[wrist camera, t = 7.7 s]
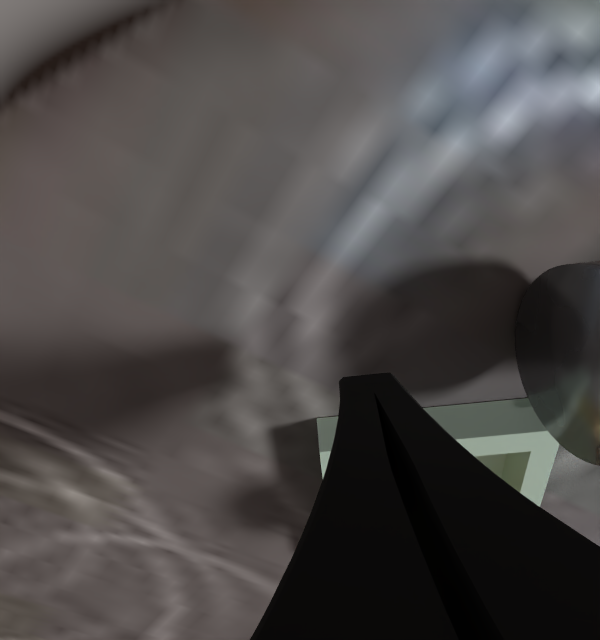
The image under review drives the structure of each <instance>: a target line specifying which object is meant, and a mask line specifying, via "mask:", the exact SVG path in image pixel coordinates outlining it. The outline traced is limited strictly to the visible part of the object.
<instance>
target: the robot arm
mask: <svg viewBox="0 0 600 640" xmlns="http://www.w3.org/2000/svg"><path fill="white" fill-rule="evenodd" d="M339 388H340V407H339V416H338V421H337V427H336V432H335V437H334V442H333V445H332V449H331V453H330V457H329V460H328V464H327V468H326V471H325V474H324V477H323V481H322V484H321V487H320V490H319V492H318V495H317V498H316V501H315V504H314V506H313V509H312V512H311V514H310V516H309V519H308V521H307V524H306V526H305V529H304V531H303V534H302V536H301V539H300V541H299V543H298V545H297V548H296V550H295V552H294V554H293V557H292V559H291V561H290V563H289V565H288V567H287V569H286V571H285V573H284V575H283V577H282V579H281V581H280V583H279V585H278V587H277V589H276V592H275V594H274V596H273V598H272V600H271V602H270V604H269V606H268V608H267V610H266V611H265V613H264V615H263V617H262V619H261V621H260V623H259V625H258V626H257V628H256V630H255V632H254V633H253V635H252V637H251V639H250V640H600V546H598V545H596V544H595V543H593V542H592V541H590V540H589V539H587V538H586V537H584V536H583V535H581V534H580V533H578V532H577V531H575V530H574V529H572V528H571V527H569V526H568V525H566V524H564V523H563V522H561V521H560V520H558V519H557V518H555V517H554V516H552V515H551V514H549V513H548V512H546V511H545V510H543V509H542V508H540V507H539V506H538V505H536V504H535V503H534V502H532V501H531V500H529V499H528V498H527V497H525V496H524V495H522V494H521V493H520V492H518V491H517V490H516V489H514V488H513V487H512V486H511V485H509V484H508V483H507V482H505V481H504V480H503V479H501V478H500V477H499V476H498V475H496V474H495V473H494V472H493V471H491V470H490V469H489V468H488V467H486V466H485V465H484V464H483V463H482V462H480V461H479V460H478V459H477V458H476V457H474V456H473V455H472V454H471V453H470V452H469V451H468V450H466V449H465V448H464V447H463V446H462V445H461V444H460V443H458V442H457V441H456V440H455V439H454V438H453V437H452V436H451V435H450V434H449V433H448V432H447V431H446V430H445V429H443V428H442V427H441V426H440V425H439V424H438V423H437V422H436V421H435V420H434V419H433V418H432V417H431V416H430V415H429V414H428V413H427V412H426V411H425V410H424V409H423V408H422V407H421V406H420V405H419V404H418V403H417V401H416V400H415V399H414V398H413V397H412V396H411V395H410V394H409V393H408V392H407V391H406V390H405V388H404V387H403V386H402V385H401V384H400V383H399V382H398V380H397V379H396V378H395V377H394V376H393V375H392V374H391V373H381V374H371V375H361V376H351V377H343V378H342V379H341V380H340V381H339Z"/></svg>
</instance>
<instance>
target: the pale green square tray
mask: <svg viewBox="0 0 600 640" xmlns="http://www.w3.org/2000/svg"><path fill="white" fill-rule="evenodd" d="M423 409H424V410H425V411H426V412H427V413H428V414H429V415H430V416H431V417H432V418H433V419H434V420H435V421H436V422H437V423H438V424H439V425H440V426H441V427H442V428H443V429H445V430H446V431H447V432H448V433H449V434H450V435H451V436H452V437H453V438H454V439H455V440H456V441H457V442H458V443H460V444H461V445H462V446H463V447H464V448H465V449H466V450H468V451H469V452H470V453H471V454H472V455H473V456H474V457H476V458H477V459H478V460H479V461H480V462H482V463H483V464H484V465H485V466H486V467H488V468H489V469H490V470H491V471H493V472H494V473H495V474H496V475H498V476H499V477H500V478H501V479H503V480H504V481H505V482H507V483H508V484H509V485H511V486H512V487H513V488H514V489H516V490H517V491H518V492H520V493H521V494H522V495H524V496H525V497H527V498H528V499H529V500H531V501H532V502H534V503H535V504H536V505H538V506H539V507H540V504H541V501H542V498H543V495H544V492H545V488H546V485H547V482H548V479H549V476H550V472H551V469H552V466H553V463H554V460H555V456H556V453H557V450H558V447H559V443H558V442H557V441H556V440H555V439H554V438H553V436H552V435H551V434H550V433H549V432H548V431H547V429H546V428H545V427H544V425H543V424H542V422H541V421H540V419H539V418H538V416H537V415H536V413H535V411H534V409H533V407H532V406H531V403H530V401H529V399H528V398H522V399H512V400H502V401H491V402H481V403H470V404H460V405H450V406H439V407H429V408H423ZM337 421H338V416H335V417H324V418H317V428H318V440H319V452H320V460H321V469H322V478H323V477H324V474H325V471H326V468H327V464H328V460H329V457H330V453H331V449H332V445H333V442H334V437H335V432H336V427H337Z"/></svg>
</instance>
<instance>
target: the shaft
mask: <svg viewBox="0 0 600 640" xmlns="http://www.w3.org/2000/svg"><path fill="white" fill-rule="evenodd" d="M515 348H516V358H517V364H518V369H519V373H520V377H521V380H522V384H523V387H524V389H525V392H526V395H527V397H528V399H529V401H530V403H531V406H532V407H533V409H534V411H535V413H536V415H537V416H538V418H539V419H540V421H541V422H542V424H543V425H544V427H545V428H546V429H547V431H548V432H549V433H550V434H551V435H552V436H553V438H554V439H555V440H556V441H557V442H558V443H559V444H560V445H562V446H563V447H564V448H565V449H566V450H568V451H569V452H570V453H572V454H573V455H575V456H576V457H578V458H580V459H582V460H584V461H586V462H589V463H591V464H595V465H599V466H600V261H595V262H586V263H576V264H567V265H561V266H557V267H554V268H551V269H549V270H547V271H546V272H544V273H542V274H541V275H540V276H539V277H538V278H537V279H536V280H535V281H534V282H533V283H532V284H531V285H530V287H529V289H528V290H527V292H526V294H525V296H524V298H523V300H522V302H521V305H520V308H519V312H518V316H517V322H516V332H515Z"/></svg>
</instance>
